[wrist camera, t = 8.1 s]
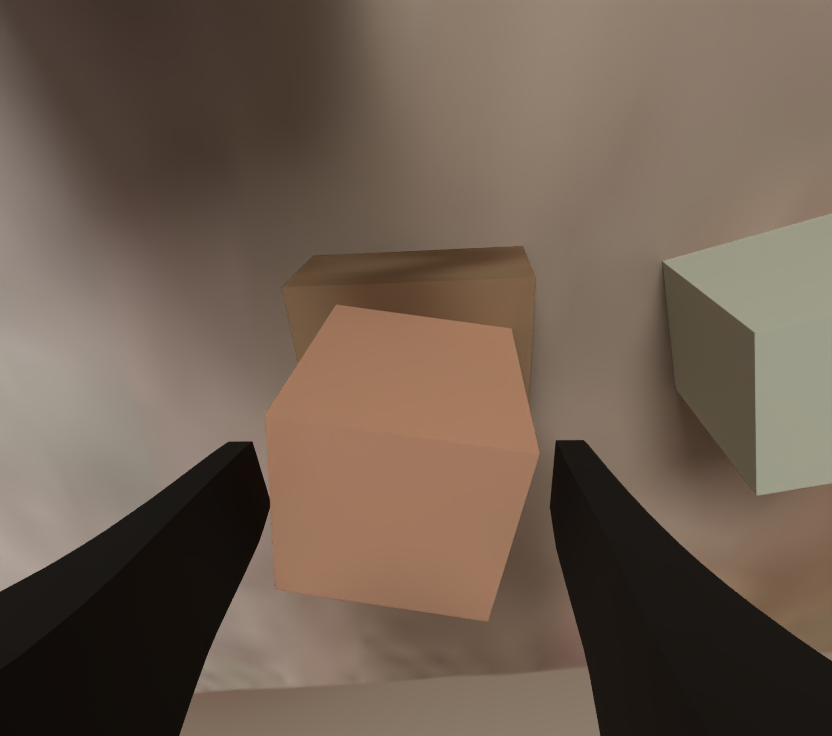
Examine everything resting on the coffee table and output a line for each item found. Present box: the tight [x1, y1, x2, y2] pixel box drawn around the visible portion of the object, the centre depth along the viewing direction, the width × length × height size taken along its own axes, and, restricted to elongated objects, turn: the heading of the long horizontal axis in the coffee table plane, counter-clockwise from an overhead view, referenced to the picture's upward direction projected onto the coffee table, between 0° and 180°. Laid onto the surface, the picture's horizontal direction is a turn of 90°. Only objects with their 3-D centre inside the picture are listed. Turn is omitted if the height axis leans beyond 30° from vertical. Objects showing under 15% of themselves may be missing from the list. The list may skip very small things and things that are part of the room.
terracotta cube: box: [265, 305, 540, 622], centre depth 12 cm, size 5×5×6 cm
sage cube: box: [662, 214, 832, 496], centre depth 13 cm, size 5×5×6 cm
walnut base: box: [282, 246, 536, 404], centre depth 16 cm, size 7×7×4 cm
